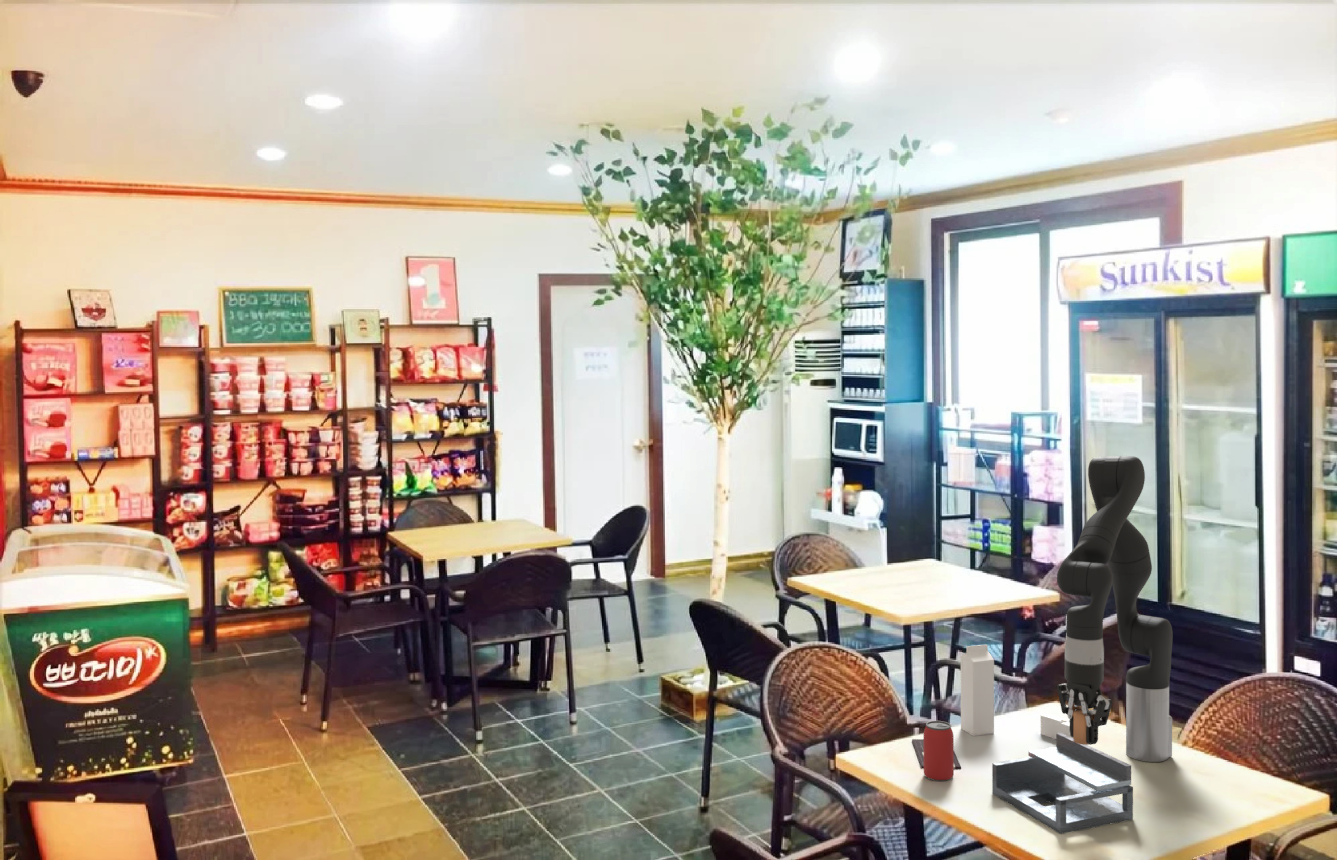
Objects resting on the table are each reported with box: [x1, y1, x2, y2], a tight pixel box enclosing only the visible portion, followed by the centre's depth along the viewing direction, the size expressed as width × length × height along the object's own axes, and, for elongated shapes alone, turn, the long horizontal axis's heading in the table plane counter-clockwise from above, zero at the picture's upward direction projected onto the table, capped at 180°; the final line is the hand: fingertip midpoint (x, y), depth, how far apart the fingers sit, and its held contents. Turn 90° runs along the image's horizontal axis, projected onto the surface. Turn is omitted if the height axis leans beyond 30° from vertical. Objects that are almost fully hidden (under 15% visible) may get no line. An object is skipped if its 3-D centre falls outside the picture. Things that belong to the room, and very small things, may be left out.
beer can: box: [923, 720, 955, 782], centre depth 251 cm, size 7×7×12 cm
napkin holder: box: [1040, 712, 1073, 740], centre depth 272 cm, size 15×11×6 cm
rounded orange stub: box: [1073, 710, 1094, 746], centre depth 228 cm, size 4×4×6 cm
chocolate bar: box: [911, 738, 962, 770], centre depth 265 cm, size 9×1×18 cm
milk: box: [960, 644, 995, 737], centre depth 280 cm, size 6×6×22 cm
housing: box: [991, 756, 1134, 835], centre depth 233 cm, size 18×22×7 cm
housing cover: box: [1028, 733, 1132, 791], centre depth 234 cm, size 9×21×4 cm, turn 20°
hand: (1083, 739), depth 229 cm, fingers closed on rounded orange stub, 4 cm apart
